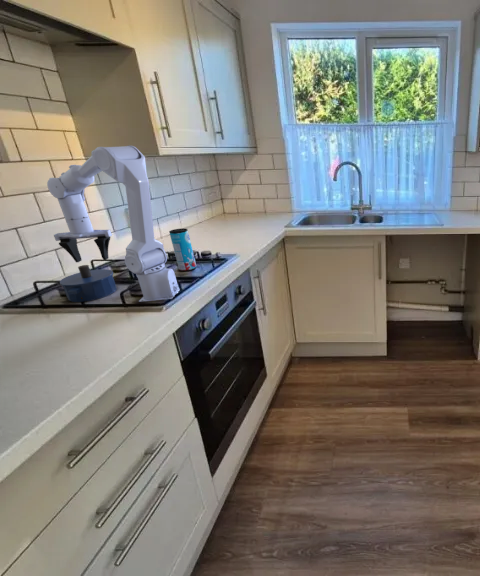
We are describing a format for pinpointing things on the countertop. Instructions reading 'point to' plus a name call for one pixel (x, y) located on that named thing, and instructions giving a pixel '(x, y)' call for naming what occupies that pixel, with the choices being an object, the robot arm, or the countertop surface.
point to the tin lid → (86, 276)
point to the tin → (91, 290)
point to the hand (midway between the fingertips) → (92, 260)
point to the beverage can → (183, 249)
